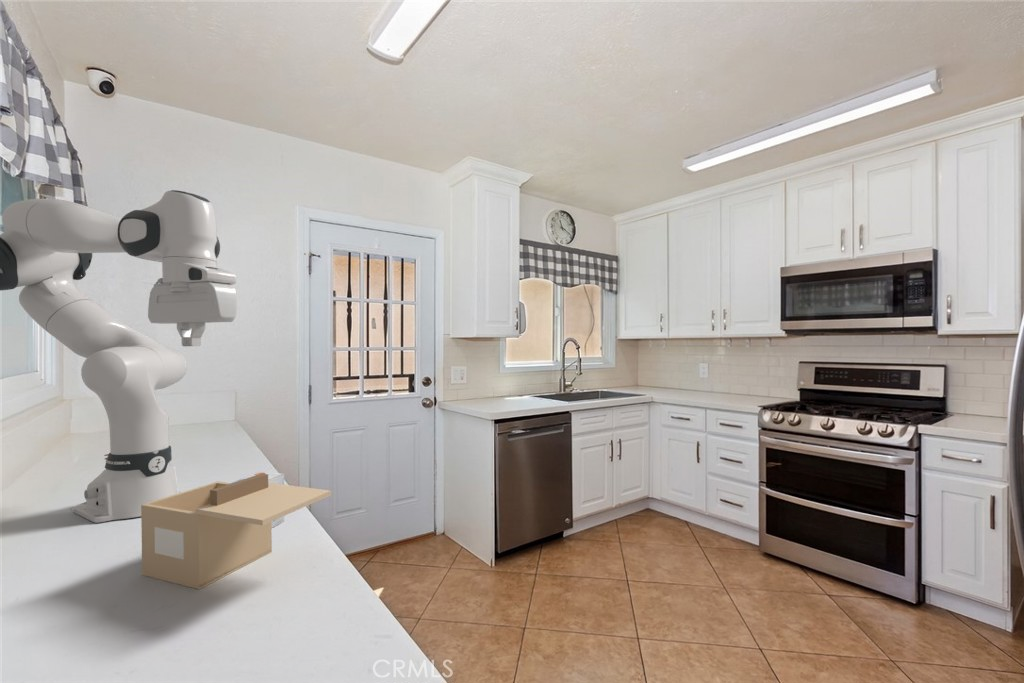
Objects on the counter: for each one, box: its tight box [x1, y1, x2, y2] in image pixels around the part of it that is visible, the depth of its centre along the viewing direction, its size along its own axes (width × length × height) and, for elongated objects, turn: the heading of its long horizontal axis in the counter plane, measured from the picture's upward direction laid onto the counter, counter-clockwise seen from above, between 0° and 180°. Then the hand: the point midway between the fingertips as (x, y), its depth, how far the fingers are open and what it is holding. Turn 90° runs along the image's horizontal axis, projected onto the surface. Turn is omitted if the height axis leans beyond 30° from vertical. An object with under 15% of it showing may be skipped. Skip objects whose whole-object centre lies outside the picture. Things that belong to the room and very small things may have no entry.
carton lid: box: [195, 474, 332, 526], centre depth 79 cm, size 14×14×3 cm
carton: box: [140, 481, 273, 590], centre depth 84 cm, size 14×14×12 cm
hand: (191, 346), depth 91 cm, fingers closed
